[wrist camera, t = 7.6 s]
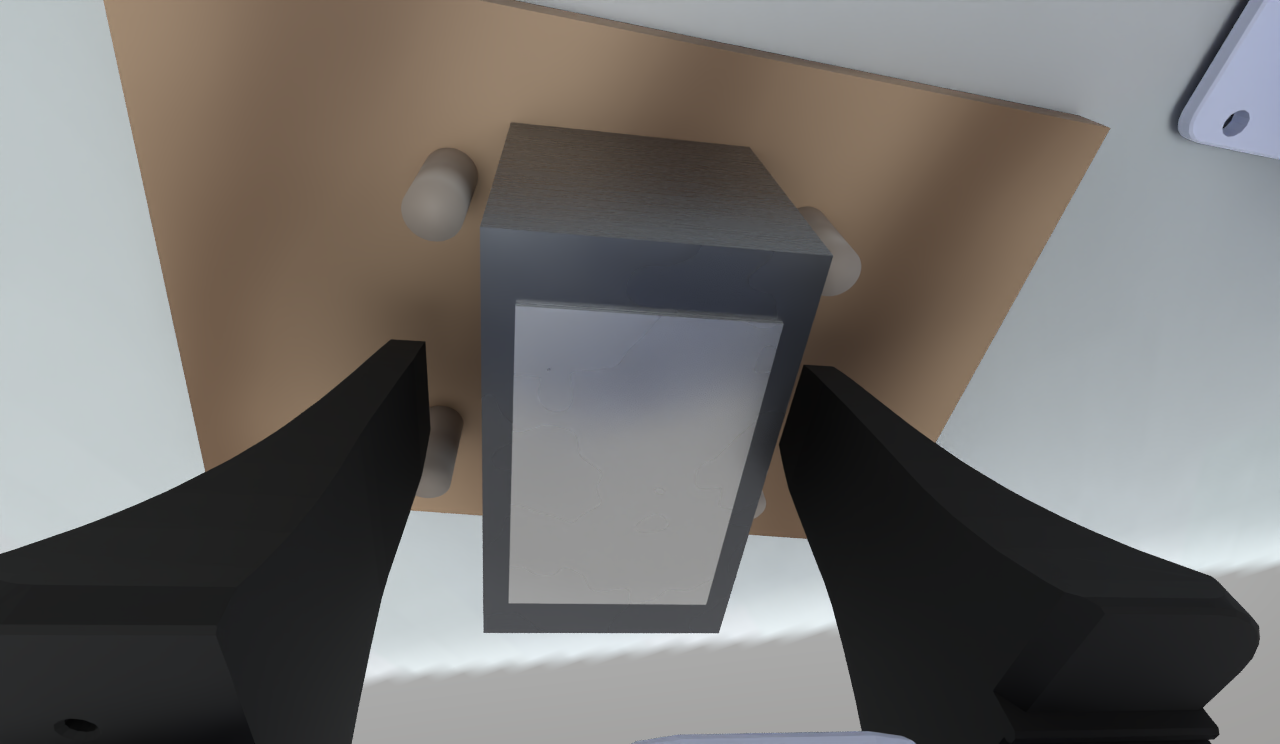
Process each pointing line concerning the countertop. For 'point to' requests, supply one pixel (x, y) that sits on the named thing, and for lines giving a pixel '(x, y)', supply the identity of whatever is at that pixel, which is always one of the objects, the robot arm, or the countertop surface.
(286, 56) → the pin tray
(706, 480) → the block
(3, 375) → the countertop surface
